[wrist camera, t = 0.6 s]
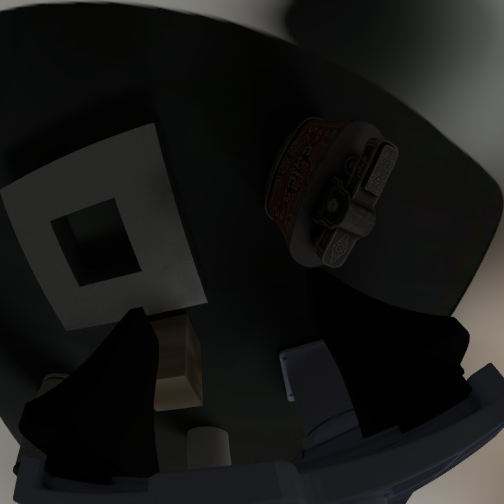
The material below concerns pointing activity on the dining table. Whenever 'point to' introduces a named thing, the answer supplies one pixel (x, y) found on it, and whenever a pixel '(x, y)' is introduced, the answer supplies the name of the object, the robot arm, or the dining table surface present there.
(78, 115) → the dining table surface
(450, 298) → the dining table surface
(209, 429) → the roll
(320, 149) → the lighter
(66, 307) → the square hole board
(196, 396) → the peg
